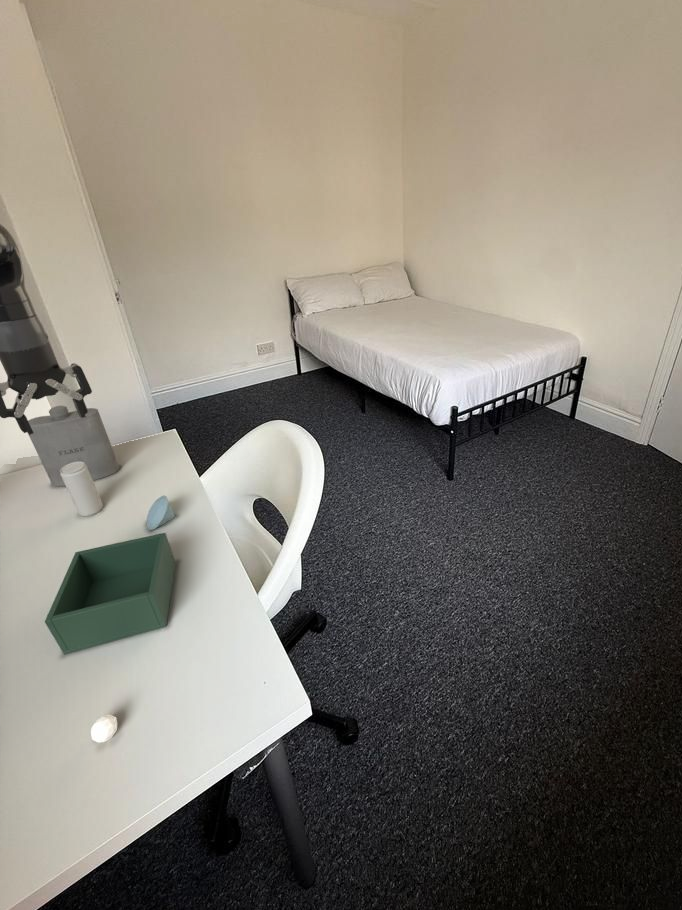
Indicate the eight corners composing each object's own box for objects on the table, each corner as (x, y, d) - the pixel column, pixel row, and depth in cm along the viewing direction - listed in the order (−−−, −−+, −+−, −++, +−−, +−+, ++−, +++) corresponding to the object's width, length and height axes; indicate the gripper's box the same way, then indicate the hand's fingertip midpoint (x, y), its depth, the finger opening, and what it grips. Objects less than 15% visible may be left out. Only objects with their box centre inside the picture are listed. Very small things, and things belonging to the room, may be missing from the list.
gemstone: (183, 493, 95) (161, 487, 92) (186, 516, 90) (164, 510, 86) (163, 517, 96) (142, 512, 93) (166, 541, 91) (143, 536, 87)
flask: (49, 490, 103) (14, 419, 93) (55, 478, 107) (22, 409, 98) (118, 475, 108) (92, 406, 99) (120, 464, 113) (95, 397, 104)
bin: (64, 655, 65) (44, 622, 61) (90, 583, 77) (75, 552, 73) (166, 626, 69) (153, 594, 65) (175, 562, 81) (165, 532, 77)
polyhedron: (125, 721, 56) (118, 708, 55) (113, 747, 53) (105, 734, 52) (103, 722, 56) (95, 710, 55) (90, 748, 53) (82, 736, 52)
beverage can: (74, 514, 94) (53, 471, 89) (94, 502, 98) (75, 459, 93) (88, 519, 93) (68, 475, 87) (108, 506, 97) (90, 463, 91)
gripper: (63, 330, 80) (92, 406, 87) (-36, 349, 70) (6, 432, 78) (75, 337, 75) (104, 417, 83) (-28, 358, 66) (15, 445, 73)
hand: (57, 424), depth 80 cm, fingers open, 8 cm apart
